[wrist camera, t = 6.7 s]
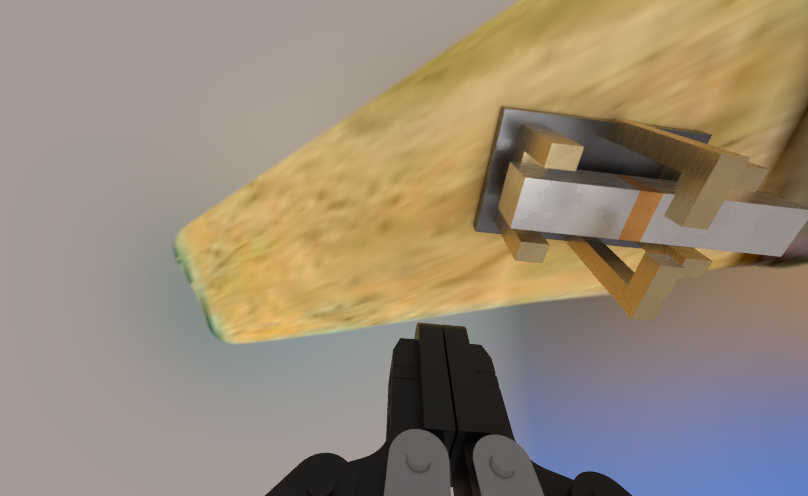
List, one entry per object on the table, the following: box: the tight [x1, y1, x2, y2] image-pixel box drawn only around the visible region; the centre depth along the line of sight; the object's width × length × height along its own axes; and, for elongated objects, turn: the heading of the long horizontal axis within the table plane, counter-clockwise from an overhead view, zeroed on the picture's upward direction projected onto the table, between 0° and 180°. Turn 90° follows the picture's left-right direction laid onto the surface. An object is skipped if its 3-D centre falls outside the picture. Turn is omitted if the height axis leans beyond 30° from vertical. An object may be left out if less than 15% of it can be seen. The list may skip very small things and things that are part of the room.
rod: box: [498, 162, 808, 257], centre depth 26 cm, size 20×4×4 cm, turn 83°
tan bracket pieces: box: [495, 124, 770, 279], centre depth 26 cm, size 14×8×6 cm, turn 83°
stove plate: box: [474, 107, 712, 248], centre depth 29 cm, size 16×10×1 cm, turn 83°
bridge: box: [567, 119, 749, 320], centre depth 25 cm, size 2×10×10 cm, turn 173°
